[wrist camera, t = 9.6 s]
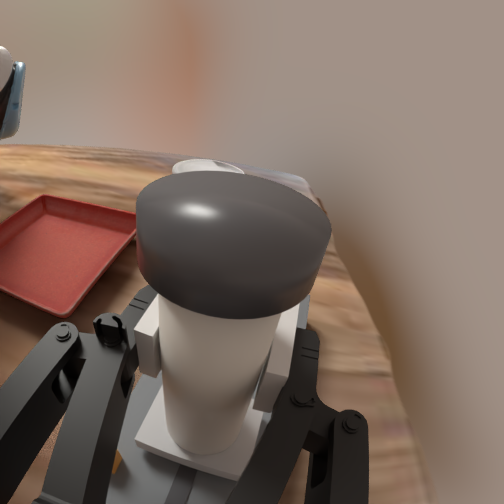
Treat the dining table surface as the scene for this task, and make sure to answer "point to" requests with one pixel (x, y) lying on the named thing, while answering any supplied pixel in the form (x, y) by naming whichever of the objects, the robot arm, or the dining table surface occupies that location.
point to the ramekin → (203, 166)
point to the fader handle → (220, 304)
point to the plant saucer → (60, 250)
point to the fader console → (159, 468)
